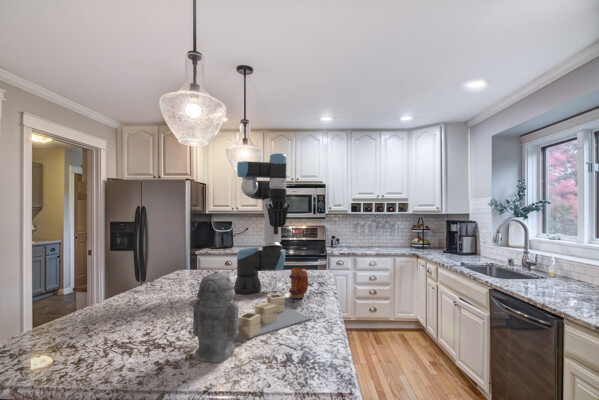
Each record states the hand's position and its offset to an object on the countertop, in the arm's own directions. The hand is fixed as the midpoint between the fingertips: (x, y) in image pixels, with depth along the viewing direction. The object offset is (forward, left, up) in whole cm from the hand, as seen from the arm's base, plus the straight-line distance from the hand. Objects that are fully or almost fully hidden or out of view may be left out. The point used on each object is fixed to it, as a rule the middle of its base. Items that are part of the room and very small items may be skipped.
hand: (277, 241), depth 128 cm
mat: (+7, -11, -30) cm, 33 cm away
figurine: (+20, -37, -31) cm, 52 cm away
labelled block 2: (0, -1, -30) cm, 30 cm away
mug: (-8, +19, -31) cm, 37 cm away
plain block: (+8, -11, -30) cm, 33 cm away
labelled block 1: (+14, -22, -30) cm, 40 cm away
